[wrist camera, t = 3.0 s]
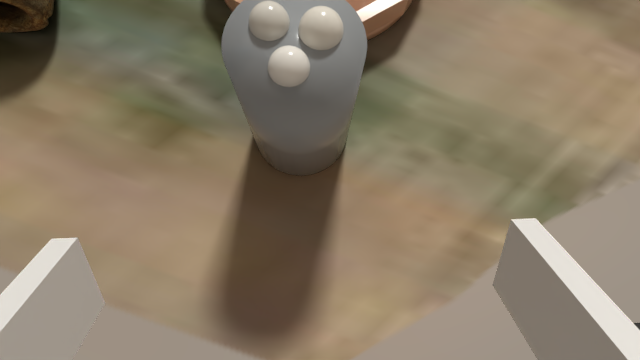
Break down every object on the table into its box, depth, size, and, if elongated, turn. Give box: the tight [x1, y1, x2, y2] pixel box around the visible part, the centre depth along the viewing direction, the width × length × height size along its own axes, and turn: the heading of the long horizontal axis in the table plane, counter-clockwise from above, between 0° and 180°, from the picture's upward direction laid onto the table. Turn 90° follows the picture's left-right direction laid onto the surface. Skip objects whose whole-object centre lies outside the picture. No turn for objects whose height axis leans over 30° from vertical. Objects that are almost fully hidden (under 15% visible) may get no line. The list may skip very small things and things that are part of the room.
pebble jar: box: [221, 0, 367, 175], centre depth 23 cm, size 7×7×12 cm
